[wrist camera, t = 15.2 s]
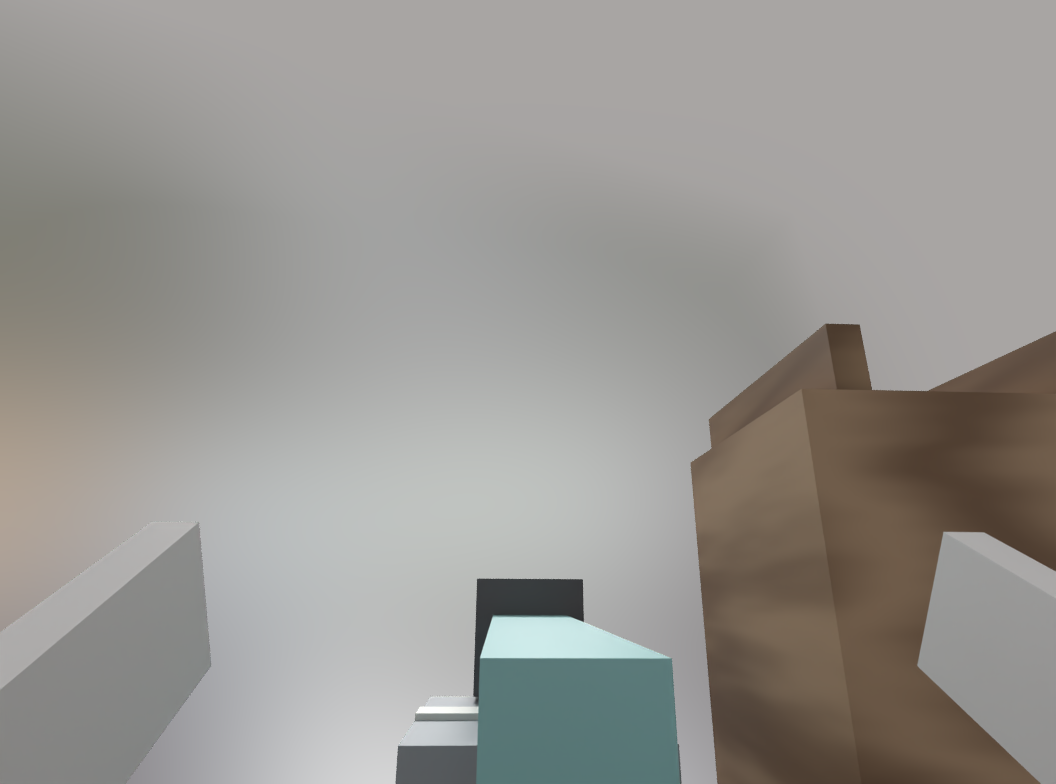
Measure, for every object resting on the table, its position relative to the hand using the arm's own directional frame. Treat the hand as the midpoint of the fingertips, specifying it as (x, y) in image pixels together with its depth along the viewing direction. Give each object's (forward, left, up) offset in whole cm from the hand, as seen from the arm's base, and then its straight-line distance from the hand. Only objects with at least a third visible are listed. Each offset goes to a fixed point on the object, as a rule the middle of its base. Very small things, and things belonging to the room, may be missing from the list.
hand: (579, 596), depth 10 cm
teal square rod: (0, +9, -4) cm, 10 cm away
